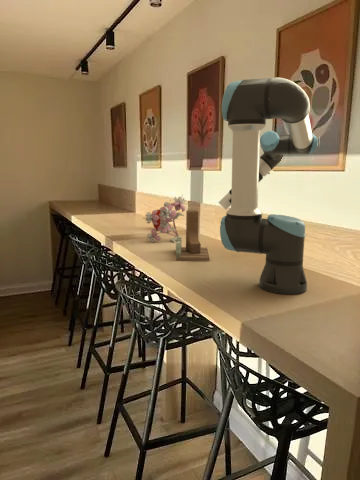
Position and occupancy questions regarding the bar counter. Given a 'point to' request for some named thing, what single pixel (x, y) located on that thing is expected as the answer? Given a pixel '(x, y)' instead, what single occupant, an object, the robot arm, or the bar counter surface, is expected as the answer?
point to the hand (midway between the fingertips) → (221, 206)
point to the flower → (165, 219)
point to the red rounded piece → (157, 220)
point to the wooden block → (192, 232)
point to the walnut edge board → (187, 256)
